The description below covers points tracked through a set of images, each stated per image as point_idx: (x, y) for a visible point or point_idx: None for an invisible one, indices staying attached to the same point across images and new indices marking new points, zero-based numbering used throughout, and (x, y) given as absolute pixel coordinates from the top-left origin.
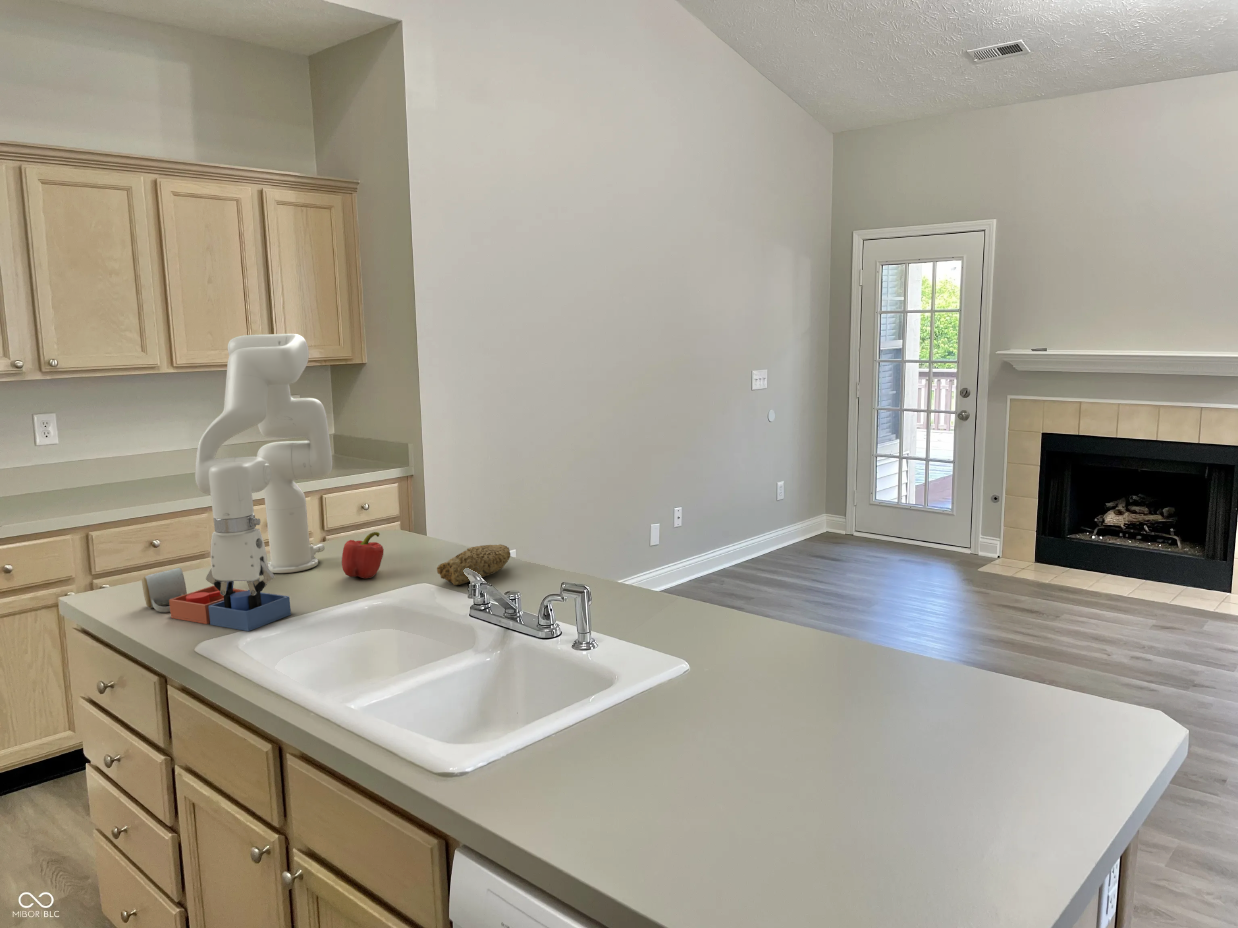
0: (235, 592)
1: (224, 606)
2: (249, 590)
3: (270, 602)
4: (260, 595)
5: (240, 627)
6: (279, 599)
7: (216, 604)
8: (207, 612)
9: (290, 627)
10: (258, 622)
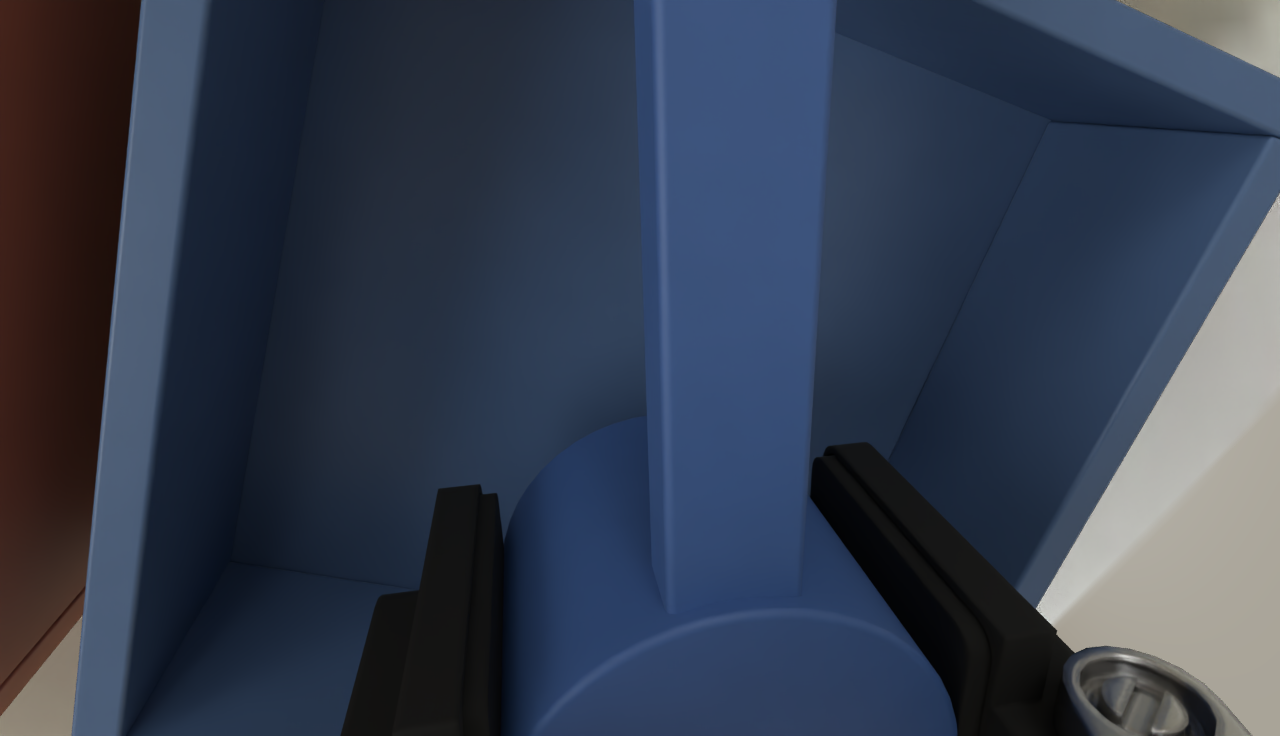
0: (491, 733)
1: (190, 475)
2: (722, 501)
3: (1088, 475)
4: (1062, 648)
5: None
6: (1192, 309)
7: (135, 669)
8: (53, 636)
9: (1160, 499)
10: None
